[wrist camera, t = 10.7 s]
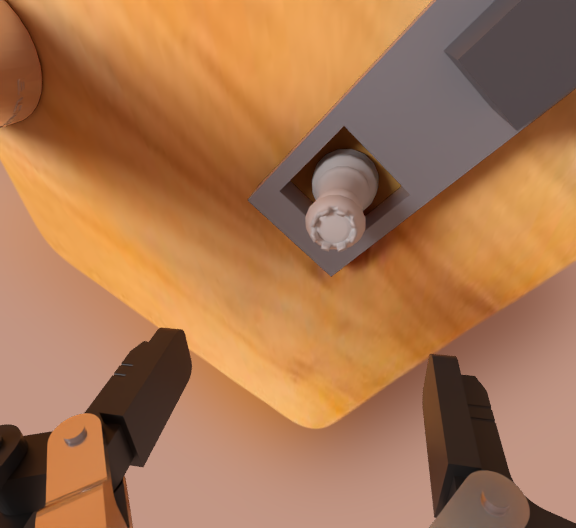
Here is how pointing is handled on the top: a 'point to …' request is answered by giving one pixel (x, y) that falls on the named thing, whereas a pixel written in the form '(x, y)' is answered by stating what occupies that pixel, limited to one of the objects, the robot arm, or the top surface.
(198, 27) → the top surface
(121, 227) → the top surface
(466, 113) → the grey holder tray
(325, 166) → the rook chess piece
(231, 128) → the top surface
